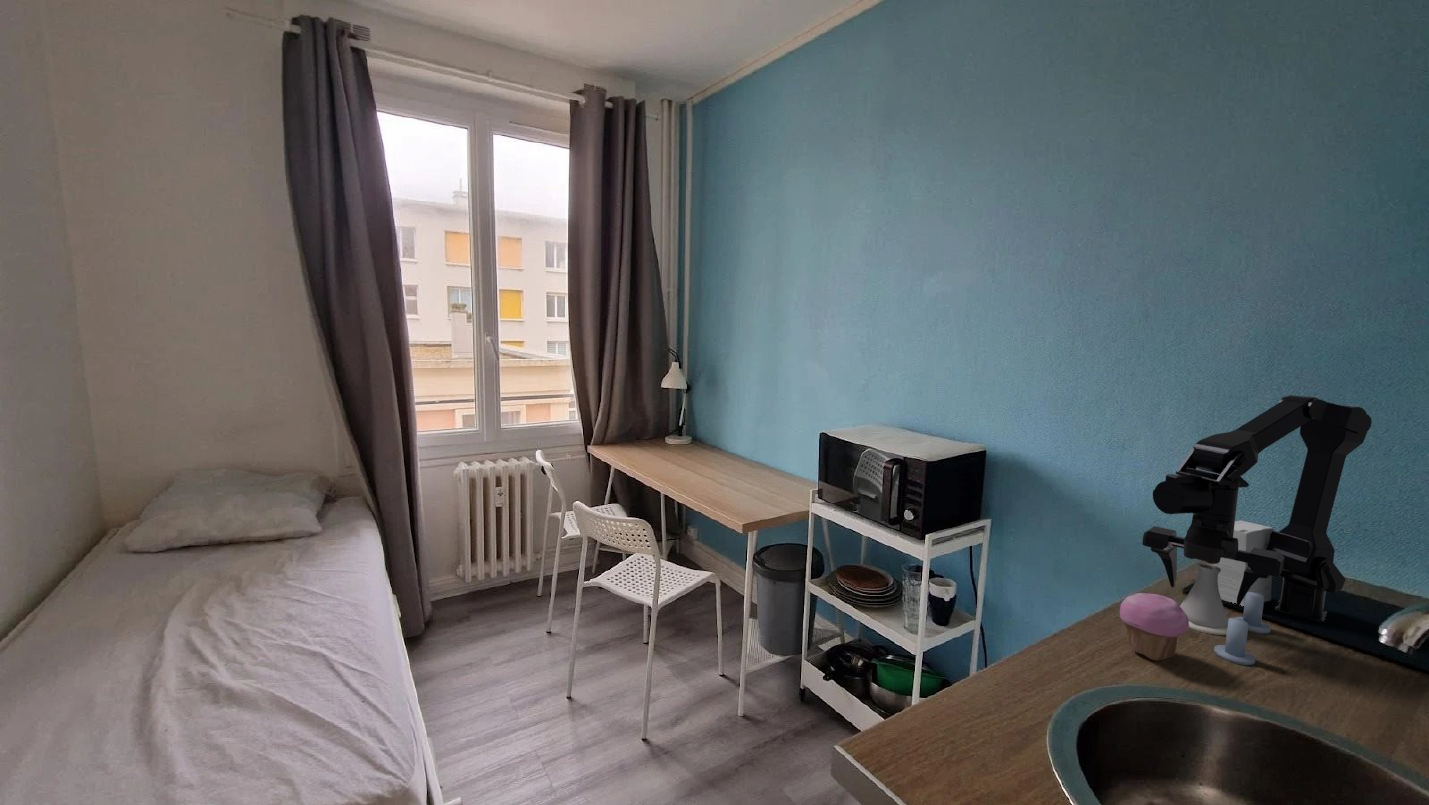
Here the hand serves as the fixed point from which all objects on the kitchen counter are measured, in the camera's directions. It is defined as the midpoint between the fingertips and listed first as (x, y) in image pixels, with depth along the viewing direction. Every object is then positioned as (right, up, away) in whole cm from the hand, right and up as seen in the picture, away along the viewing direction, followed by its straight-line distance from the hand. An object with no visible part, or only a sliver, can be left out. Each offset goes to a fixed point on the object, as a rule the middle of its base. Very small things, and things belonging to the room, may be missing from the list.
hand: (1204, 595), depth 105 cm
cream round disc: (0, -5, +1) cm, 5 cm away
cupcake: (-18, -7, -10) cm, 21 cm away
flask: (0, -5, +1) cm, 5 cm away
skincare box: (+15, -4, +10) cm, 19 cm away
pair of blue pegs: (+2, -6, -6) cm, 8 cm away
